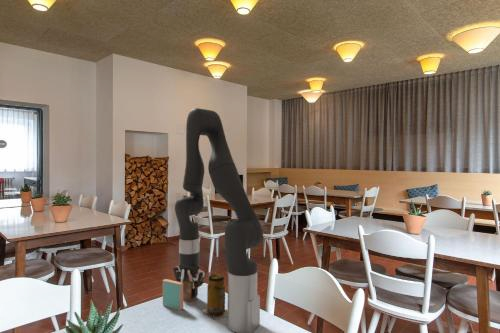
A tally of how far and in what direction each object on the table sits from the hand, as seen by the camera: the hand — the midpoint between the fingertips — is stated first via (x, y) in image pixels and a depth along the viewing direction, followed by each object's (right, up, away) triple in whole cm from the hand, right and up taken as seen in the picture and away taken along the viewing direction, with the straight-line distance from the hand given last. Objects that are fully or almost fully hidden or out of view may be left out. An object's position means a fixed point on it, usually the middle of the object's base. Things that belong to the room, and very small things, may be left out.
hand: (189, 295), depth 120 cm
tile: (-5, -1, -7) cm, 8 cm away
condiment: (+12, -2, -10) cm, 16 cm away
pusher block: (0, -1, 0) cm, 1 cm away
